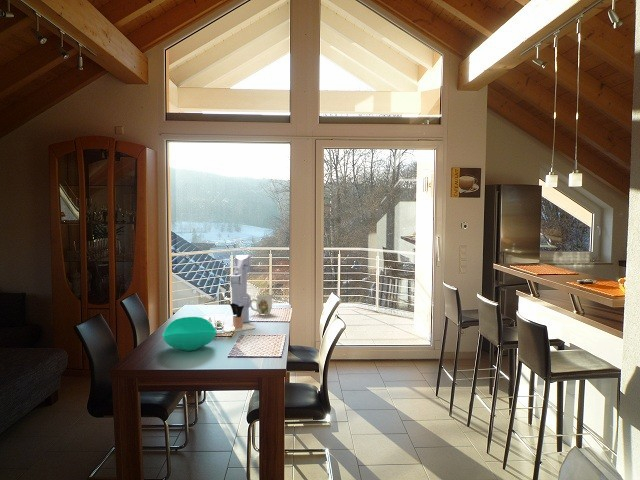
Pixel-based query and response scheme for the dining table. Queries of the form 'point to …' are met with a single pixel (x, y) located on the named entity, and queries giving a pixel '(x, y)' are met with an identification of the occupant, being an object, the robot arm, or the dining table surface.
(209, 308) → the dining table surface
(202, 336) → the table top decor
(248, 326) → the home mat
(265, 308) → the pitcher
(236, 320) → the block
